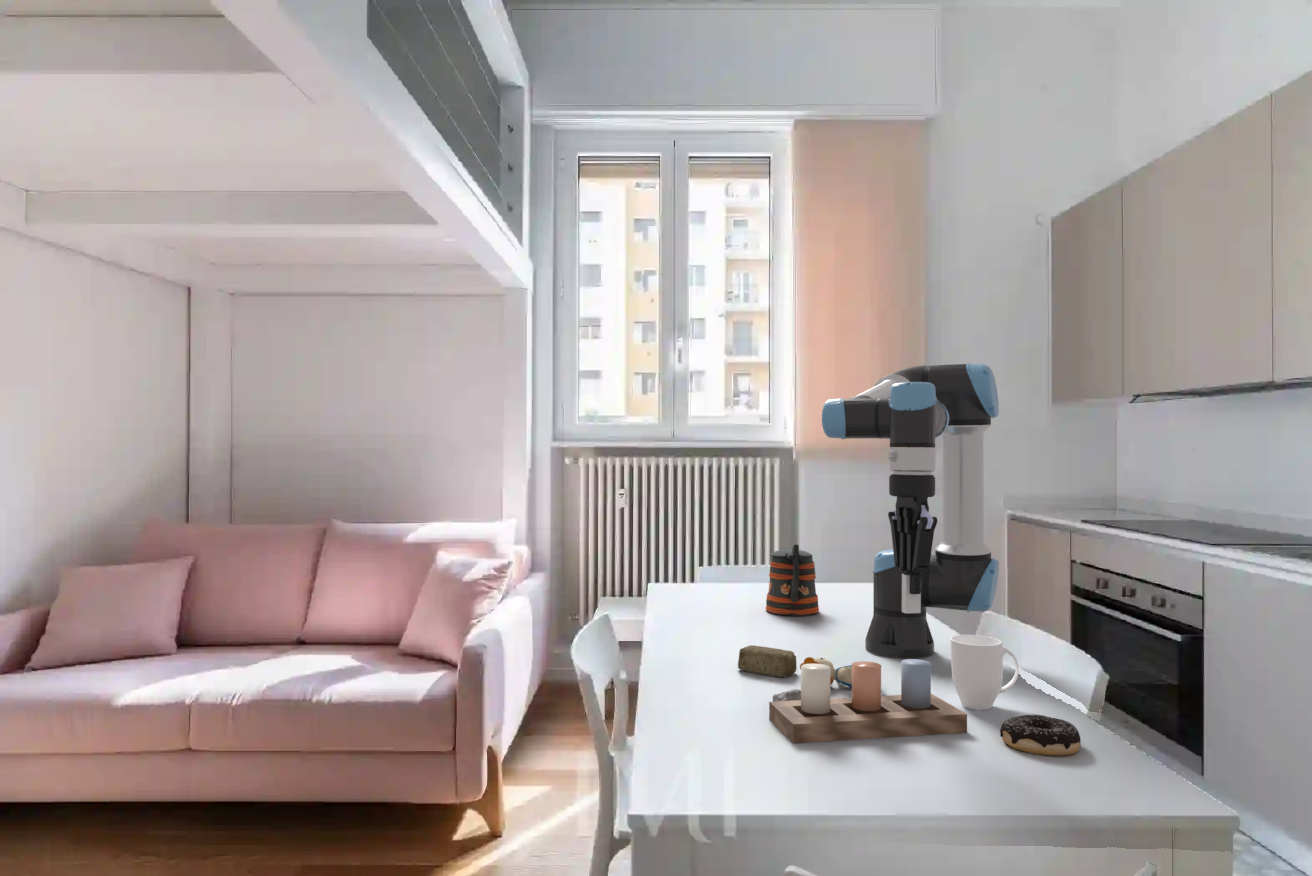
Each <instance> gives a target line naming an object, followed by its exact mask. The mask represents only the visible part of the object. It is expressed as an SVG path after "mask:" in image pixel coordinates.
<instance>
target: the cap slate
mask: <svg viewBox="0 0 1312 876" xmlns="http://www.w3.org/2000/svg"><path fill="white" fill-rule="evenodd" d="M900 663H901V667H900V670H901V673H900V674H901V677H900V678H901V679H900V681H901V683H900V685H901V686H900V687H901V690H900V695H901V704H903V705H904V706H907V707H912V708H927V707H930V706H931V694H932V693H931V692H932V690H931V689H932V663H931V662H930V661H927V660H924V659H918V658H917V659H916V658H905V659H903V660H901V661H900Z"/></svg>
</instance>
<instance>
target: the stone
mask: <svg viewBox="0 0 1312 876" xmlns="http://www.w3.org/2000/svg"><path fill="white" fill-rule="evenodd" d="M771 699H772V702H775V701H794V700H801V689H797V688H794V689H789V690H787V691H783V692H780V693H776V694H775V693H774V694H773V695H772V698H771Z"/></svg>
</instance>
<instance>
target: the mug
mask: <svg viewBox="0 0 1312 876" xmlns="http://www.w3.org/2000/svg"><path fill="white" fill-rule="evenodd" d="M949 640H950V642H949V643H950V662H951V663H950V664H951V677H952V681H953V684H954V685H953V686H954V687H955V690H956V692H957V695H958V698H959V700H960V703H961V705H962V706H963V708H964V707H965V708H966V709H971V710H977V711H984V710H985V711H987V710H990V709H992V707H993V706H994V703H995V700H996V699H997V697H998V695H999V694H1002V693H1005V692H1007V691H1009V690H1010V689H1011V688H1012V687H1013V686H1014V685H1015V684H1016V682H1017V679H1018V677H1019V673H1020V669H1019V662H1018V660H1017V657H1016V655H1015V654H1014V653H1013V652H1012V651H1010V650H1009V649H1008V648H1007V647H1005V646H1003V642H1002V641H1001V640H1000V639H999V638H995V637H991V636H986V635H979V634H958V635H952V636H950V638H949ZM1005 654H1008V655H1009V656H1011V657H1012V659H1013V660H1014V663H1015V671H1014V672H1015V673H1014V675H1013V677H1012V679H1011V680H1009V682H1007V684H1005V685H1004V686H1003V679H1004V678H1003V675H1004V673H1003V671H1004V667H1003V666H1004V662H1003V661H1004V655H1005Z"/></svg>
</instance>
